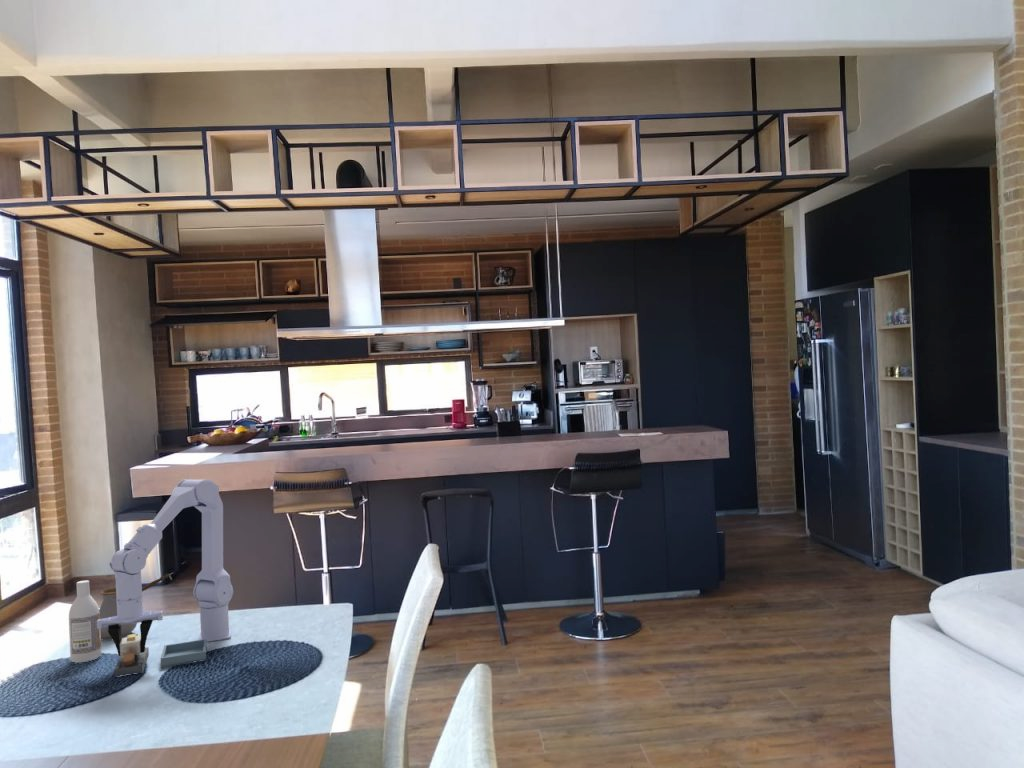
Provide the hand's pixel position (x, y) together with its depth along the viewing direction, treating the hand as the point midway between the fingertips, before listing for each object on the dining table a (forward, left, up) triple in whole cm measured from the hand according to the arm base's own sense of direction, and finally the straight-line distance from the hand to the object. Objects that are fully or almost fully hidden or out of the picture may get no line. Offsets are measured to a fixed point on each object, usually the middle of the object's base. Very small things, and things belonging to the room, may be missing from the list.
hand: (131, 653), depth 190 cm
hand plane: (0, 0, -3) cm, 3 cm away
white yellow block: (0, 0, 0) cm, 0 cm away
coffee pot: (-33, -3, -3) cm, 33 cm away
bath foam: (-12, -12, -3) cm, 17 cm away
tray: (0, +12, -3) cm, 12 cm away
